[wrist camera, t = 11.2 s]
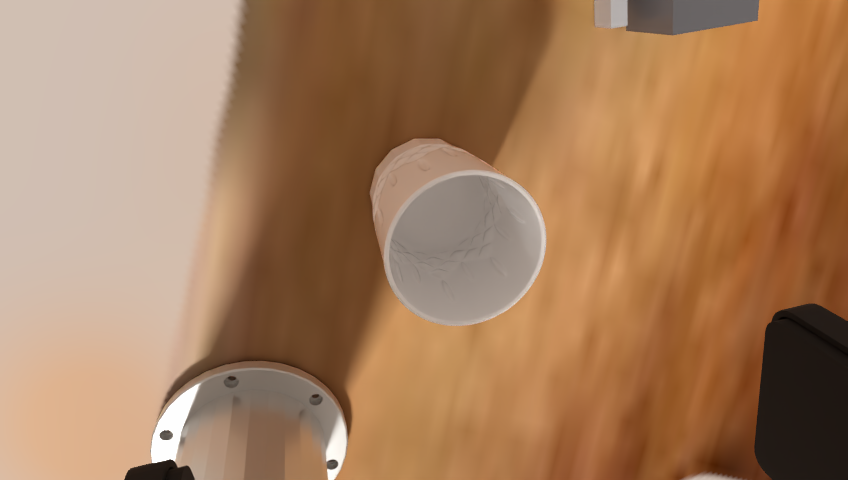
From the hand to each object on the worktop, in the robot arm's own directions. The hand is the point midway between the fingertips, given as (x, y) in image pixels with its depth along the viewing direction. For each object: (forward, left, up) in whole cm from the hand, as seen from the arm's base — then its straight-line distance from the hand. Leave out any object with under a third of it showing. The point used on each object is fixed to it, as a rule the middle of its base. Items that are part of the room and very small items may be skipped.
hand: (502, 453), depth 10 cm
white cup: (-5, -4, -28) cm, 29 cm away
